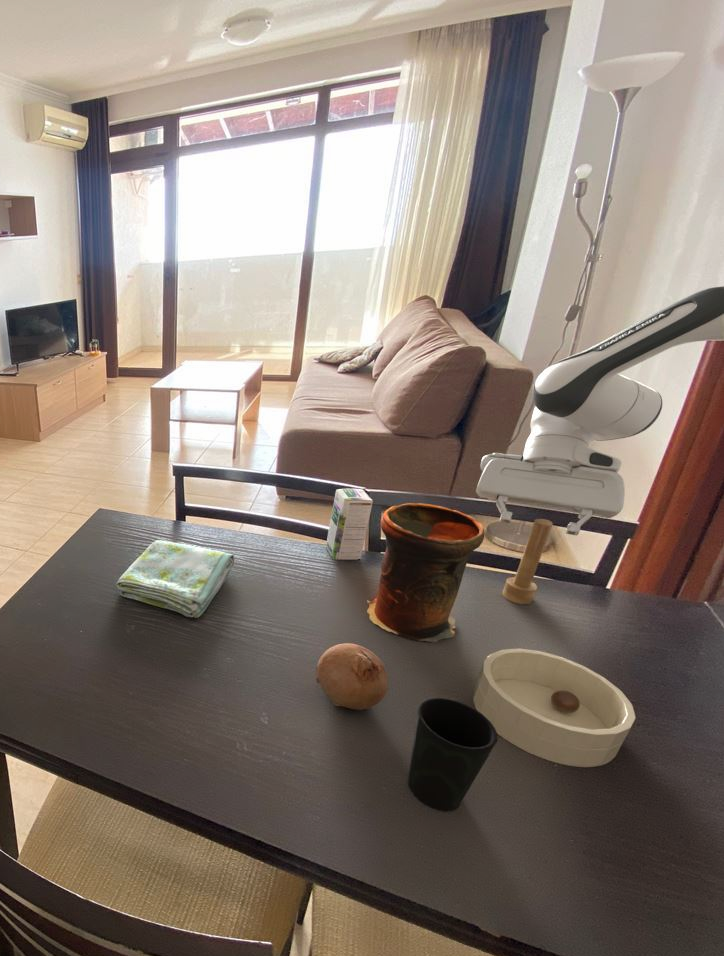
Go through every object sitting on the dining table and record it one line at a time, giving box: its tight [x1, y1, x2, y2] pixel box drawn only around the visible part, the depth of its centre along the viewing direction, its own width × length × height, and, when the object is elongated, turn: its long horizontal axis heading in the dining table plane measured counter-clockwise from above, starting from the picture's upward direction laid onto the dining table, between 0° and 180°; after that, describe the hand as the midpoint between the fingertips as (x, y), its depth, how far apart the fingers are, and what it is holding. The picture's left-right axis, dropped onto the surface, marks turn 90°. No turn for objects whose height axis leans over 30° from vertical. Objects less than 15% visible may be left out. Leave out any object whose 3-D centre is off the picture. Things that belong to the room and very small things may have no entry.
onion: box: [315, 642, 389, 711], centre depth 80 cm, size 10×9×10 cm
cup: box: [407, 697, 498, 812], centre depth 65 cm, size 8×8×12 cm
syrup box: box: [325, 488, 374, 561], centre depth 115 cm, size 6×6×14 cm
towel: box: [115, 539, 235, 619], centre depth 111 cm, size 18×21×5 cm
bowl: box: [472, 648, 637, 768], centre depth 75 cm, size 16×16×6 cm
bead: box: [551, 690, 580, 713], centre depth 76 cm, size 3×3×3 cm
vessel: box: [366, 502, 486, 643], centre depth 93 cm, size 14×14×20 cm
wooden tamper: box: [501, 518, 554, 605], centre depth 97 cm, size 4×4×16 cm
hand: (537, 527), depth 98 cm, fingers open, 8 cm apart
